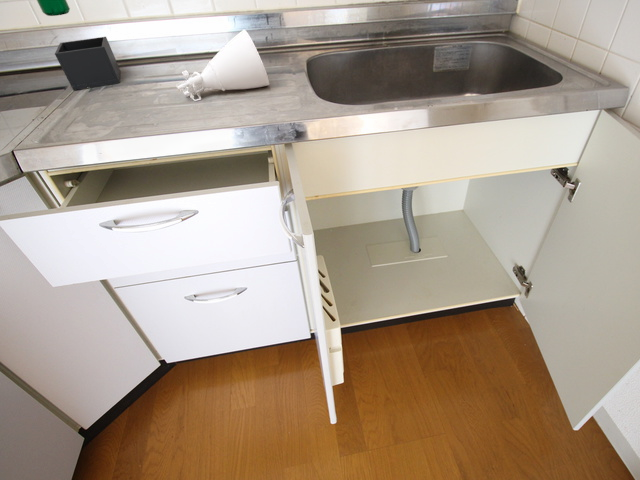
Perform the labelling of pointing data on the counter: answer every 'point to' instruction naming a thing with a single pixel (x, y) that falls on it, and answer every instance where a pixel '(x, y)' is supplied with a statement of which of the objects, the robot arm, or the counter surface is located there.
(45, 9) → the soda can
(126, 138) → the counter surface
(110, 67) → the bin
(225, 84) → the rocket engine
